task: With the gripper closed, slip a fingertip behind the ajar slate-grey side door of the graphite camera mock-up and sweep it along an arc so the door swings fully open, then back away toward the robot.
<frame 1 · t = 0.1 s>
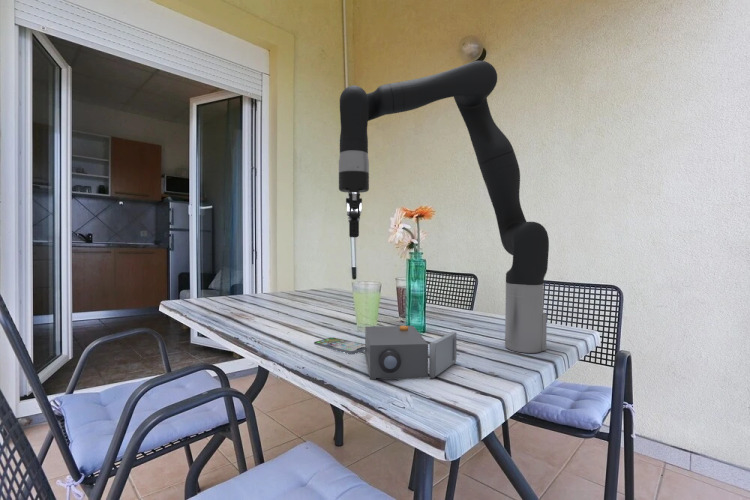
hand: (353, 237, 90), 29 cm above the table, fingers open, 8 cm apart
side door: (444, 353, 78), point 4 cm above the table, hinge at 40.0°
camera body: (393, 365, 82), on the table
smartphone: (341, 348, 97), on the table
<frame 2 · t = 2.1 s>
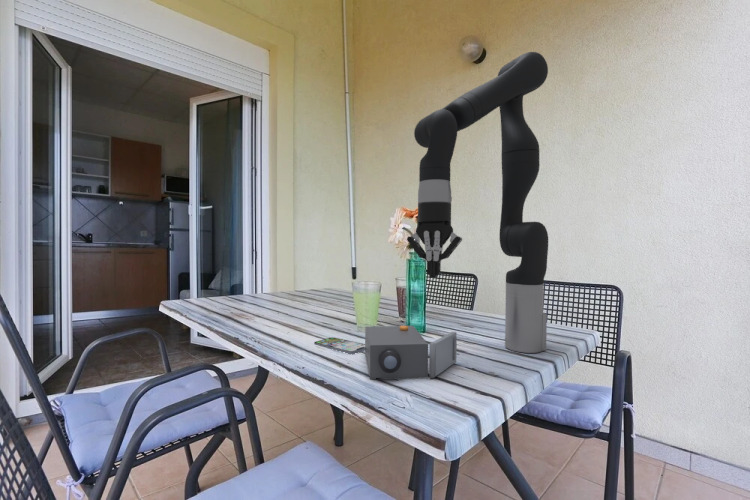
hand: (433, 277, 83), 20 cm above the table, fingers closed
nothing on the table moved.
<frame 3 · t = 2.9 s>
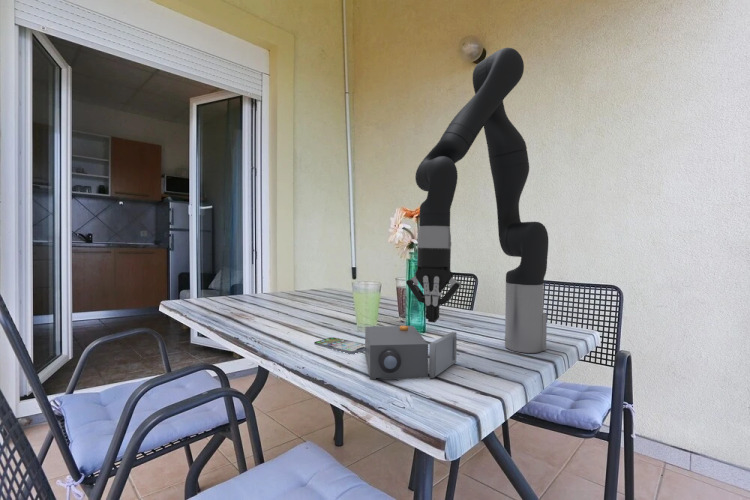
hand: (432, 321, 83), 10 cm above the table, fingers closed
nothing on the table moved.
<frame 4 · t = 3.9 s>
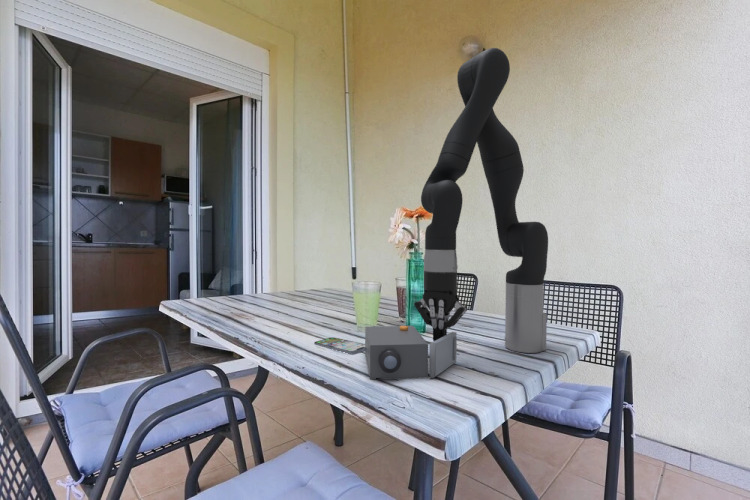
hand: (439, 344, 83), 4 cm above the table, fingers closed
side door: (444, 353, 78), point 4 cm above the table, hinge at 40.0°, touching gripper
everything else where it was.
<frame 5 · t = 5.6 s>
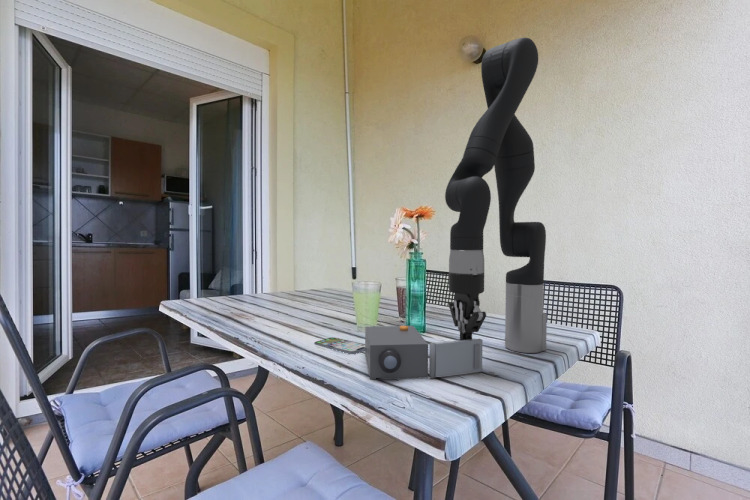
hand: (465, 348, 79), 5 cm above the table, fingers closed
side door: (456, 357, 75), point 4 cm above the table, hinge at 77.9°, touching gripper
everything else where it was.
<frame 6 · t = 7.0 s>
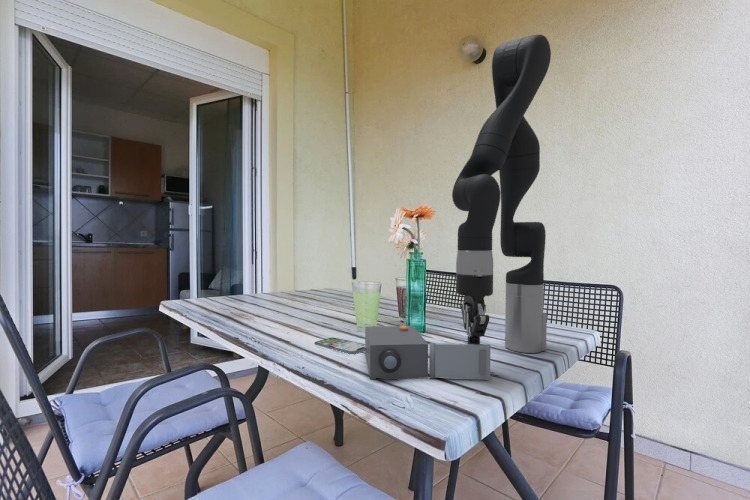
hand: (473, 353, 76), 4 cm above the table, fingers closed
side door: (459, 361, 73), point 4 cm above the table, hinge at 100.0°
everything else where it was.
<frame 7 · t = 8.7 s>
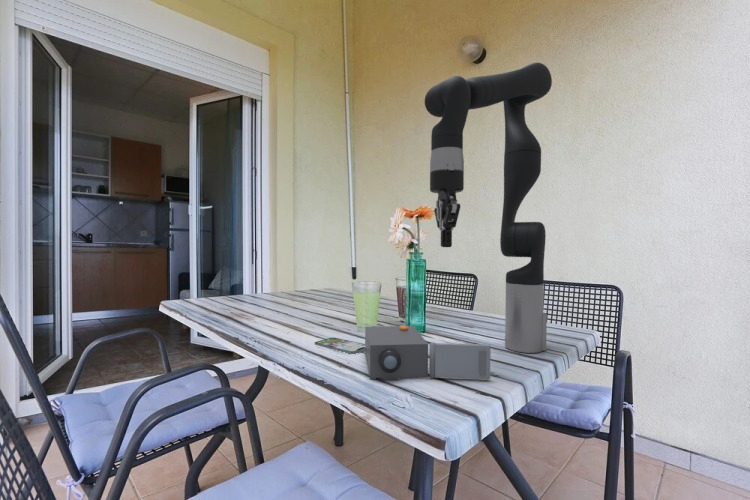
hand: (446, 247, 82), 27 cm above the table, fingers closed
nothing on the table moved.
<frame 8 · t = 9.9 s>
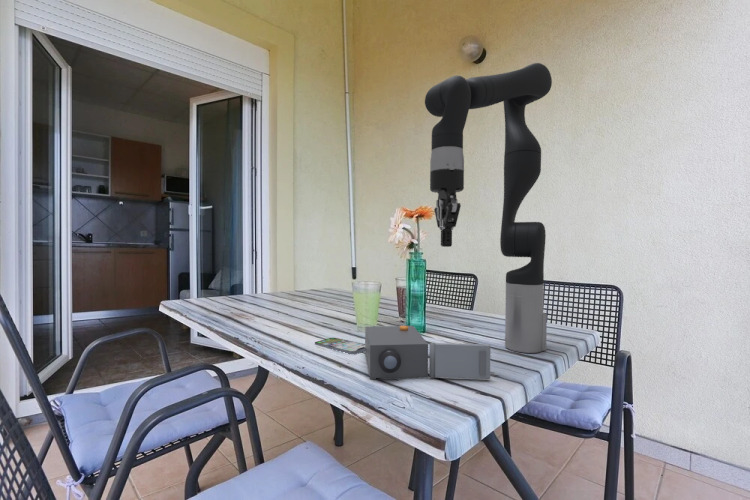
hand: (446, 246, 82), 27 cm above the table, fingers closed
nothing on the table moved.
at the end: side door at +100° (first picture: +40°) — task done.
